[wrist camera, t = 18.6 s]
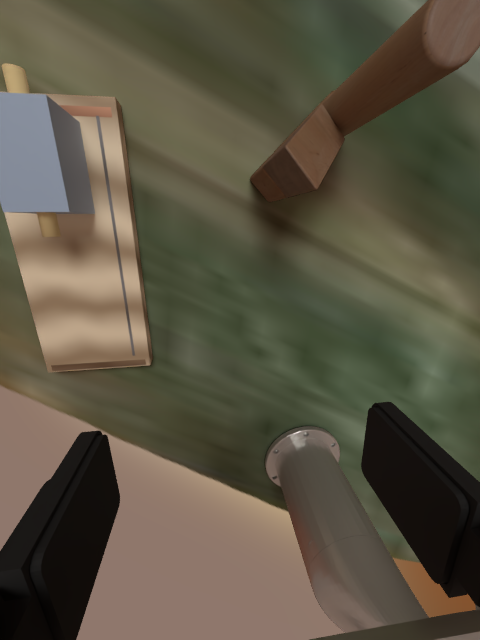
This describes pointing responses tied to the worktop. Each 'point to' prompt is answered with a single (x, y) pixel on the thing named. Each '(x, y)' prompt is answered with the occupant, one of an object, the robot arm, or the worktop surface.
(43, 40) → the worktop surface
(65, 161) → the grey block on dowel
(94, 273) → the maple board
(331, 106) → the wooden block
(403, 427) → the robot arm
